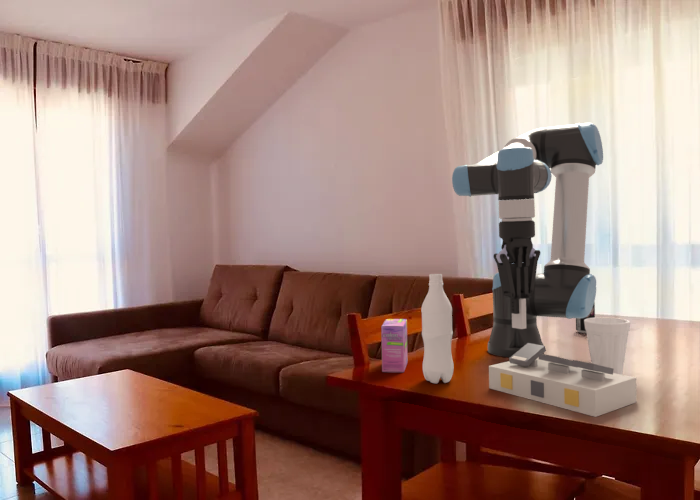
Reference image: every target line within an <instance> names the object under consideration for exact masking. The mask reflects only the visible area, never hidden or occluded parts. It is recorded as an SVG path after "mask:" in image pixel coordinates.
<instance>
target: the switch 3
mask: <svg viewBox="0 0 700 500" xmlns="http://www.w3.org/2000/svg"><path fill="white" fill-rule="evenodd" d="M572 361H573V363H572V366H574V367H579V368H583V369H587V370H592V371H597V372H602V373H607V374H612V375H613V370H614V369H613V368H609V367H604V366H600V365H596V364H593V363H591V362H588V361H582V360H578V359H576V360H575V359H572Z"/></svg>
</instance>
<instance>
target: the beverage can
mask: <svg viewBox="0 0 700 500" xmlns="http://www.w3.org/2000/svg"><path fill="white" fill-rule="evenodd" d="M595 305H596V302H595V301H594V305H593V308H592V310H591V312H590V313H589V315H588V316H587V317H585V318H575V330H576V331H577V332H578V333H580V334H587V333H586V329H585V324H584V320H585V319H587V318H595V317H596V309H595V308H596V306H595Z"/></svg>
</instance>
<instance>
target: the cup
mask: <svg viewBox="0 0 700 500" xmlns="http://www.w3.org/2000/svg"><path fill="white" fill-rule="evenodd" d="M584 324H585V329H586V333H585V334H586V338H587V344H588V345H587V346H588V350H589V355H590V356H589V357H590V363H593V364H596V365H600V366H604V367H609V368H613V369H614V370H613V373H616V374H621V375H623V372H624V364H625V359H626V358H625V357H626V350H627V344H628V337H629V332H630V327H631V321H630V320H628V319H625V318H619V317H605V316H604V317H603V316H601V317H600V316H598V317H596V316H595V318H587V319H585V320H584Z"/></svg>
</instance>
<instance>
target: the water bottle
mask: <svg viewBox="0 0 700 500" xmlns="http://www.w3.org/2000/svg"><path fill="white" fill-rule="evenodd" d="M428 277H429V281H428V282H429V283H428V286H429V287H428V290H427V291H428V292H427V294H426V296H425V298H424V299H423V302H422V304H421V308H420V310H421V311H420V312H421V337H422V341H423V351H424V353H423V361H422V374H423V376H424V379H425V380H426V381H427V382H430V383H432V384H438V383H439V382H440V380H442V382H443V383H444V384H446V383H449V382H450V381H451V380H452V377H453V375H454V370H455V369H454V361H453V356H452V340H453V334H454V331H453V316H452V315H453V307H452V303H451V302H450V300H449V298H448V297H447V294H446V293H445V290H444V280H443V274H442V273H430V274H429V276H428Z"/></svg>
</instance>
